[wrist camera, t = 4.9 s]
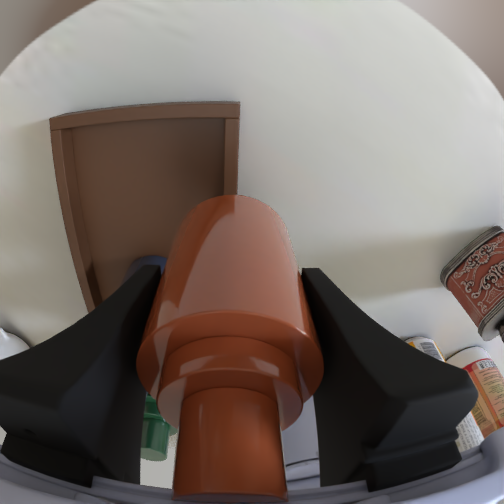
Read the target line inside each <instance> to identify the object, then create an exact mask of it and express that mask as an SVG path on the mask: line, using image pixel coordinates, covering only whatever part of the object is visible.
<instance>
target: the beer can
mask: <svg viewBox="0 0 504 504" xmlns="http://www.w3.org/2000/svg"><path fill="white" fill-rule="evenodd" d="M404 342H406V343H408V344H409V345H411V346H413V347H415V348H416V349H418V350H420V351H422V352H424V353H426V354H428V355H430V356H432V357H434V358H436V359H439V360H441V361H443V362H446V361H445V359H444V357H443V356H442V354H441V352H440V350H439V348H438V347H437V345H436V343H435V342H434V341H433V340H431V339H427V338H424V337H414V338H410V339H408V340H406V341H404ZM456 429H457V431H458V434H459V438H458V439H457V440H455V442H456V444H457V447H458V449H459V452H463V451H465V450H468V449H470V448H473V447H475V446H478V445H480V444H481V442H482V441H483V440H484V438H483V435H482V433H481V431H480V429H479V426H478V424H477V422H476V420H475V418H474V416H473V414H472V411H470V412H469V413H468V415H467V416H466V417H465V418H464V419H463V420H462V421H461V422H460V424H459V425H458V426H457V427H456Z"/></svg>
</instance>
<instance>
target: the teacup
mask: <svg viewBox="0 0 504 504" xmlns="http://www.w3.org/2000/svg"><path fill="white" fill-rule="evenodd" d="M27 349H30V347H29V346H28V345H27V344H26V343H25V342H24V341H23V340H22V339H21V338H19V337H18V336H16V335H14V334H11V333H7V332H5V331H4V330H3V329H2V328H1V327H0V360H1V359H4V358H7V357H10V356H12V355H15V354H18V353H20V352H23V351H25V350H27Z"/></svg>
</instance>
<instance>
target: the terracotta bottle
mask: <svg viewBox="0 0 504 504" xmlns="http://www.w3.org/2000/svg"><path fill="white" fill-rule="evenodd" d="M136 369H137V374H138V377H139V379H140V382H141V384H142V385H143V387H144V388H145V390H146V391H147V392H148V393H149V394H150V396H151V397H152V398H154V399H155V400H156V405H157V409H158V411H159V413H160V415H161V416H162V417H163V419H164V420H165V421H166V422H167V423H169V424H170V425H171V426H172V427H174V428H176V429H177V430H178V431H177V440H176V450H175V460H174V471H173V481H172V494H171V500H174V501H183V502H195V503H213V504H265V503H282V502H288V501H289V497H288V486H287V477H286V468H285V458H284V449H283V440H282V431H284V430H285V429H287V428H289V427H290V426H291V425H293V424H294V423H295V422H296V421H297V419H298V418H299V417H300V415H301V413H302V410H303V405H304V403H305V402H306V401H307V400H309V399H310V398H311V396H312V395H313V394H314V393H315V392H316V390H317V389H318V387H319V386H320V383H321V381H322V379H323V374H324V359H323V355H322V351H321V347H320V343H319V339H318V336H317V332H316V328H315V324H314V321H313V317H312V313H311V310H310V306H309V303H308V299H307V295H306V292H305V288H304V285H303V281H302V278H301V274H300V271H299V267H298V264H297V261H296V257H295V254H294V250H293V247H292V244H291V240H290V237H289V234H288V231H287V228H286V226H285V224H284V222H283V221H282V219H281V218H280V216H279V215H278V214H277V213H276V212H275V211H274V210H273V209H272V208H270V207H269V206H268V205H266V204H265V203H263V202H261V201H259V200H256V199H254V198H251V197H247V196H242V195H223V196H217V197H214V198H210V199H208V200H206V201H203V202H201V203H200V204H198V205H197V206H195V207H194V208H193V209H192V210H190V211H189V212H188V214H187V215H186V216H185V217H184V218H183V220H182V221H181V223H180V225H179V227H178V230H177V232H176V235H175V238H174V241H173V244H172V246H171V249H170V252H169V255H168V258H167V261H166V264H165V266H164V269H163V272H162V275H161V278H160V281H159V284H158V287H157V290H156V293H155V297H154V300H153V303H152V306H151V309H150V312H149V316H148V319H147V322H146V325H145V329H144V332H143V335H142V339H141V342H140V346H139V349H138V352H137V357H136Z"/></svg>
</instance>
